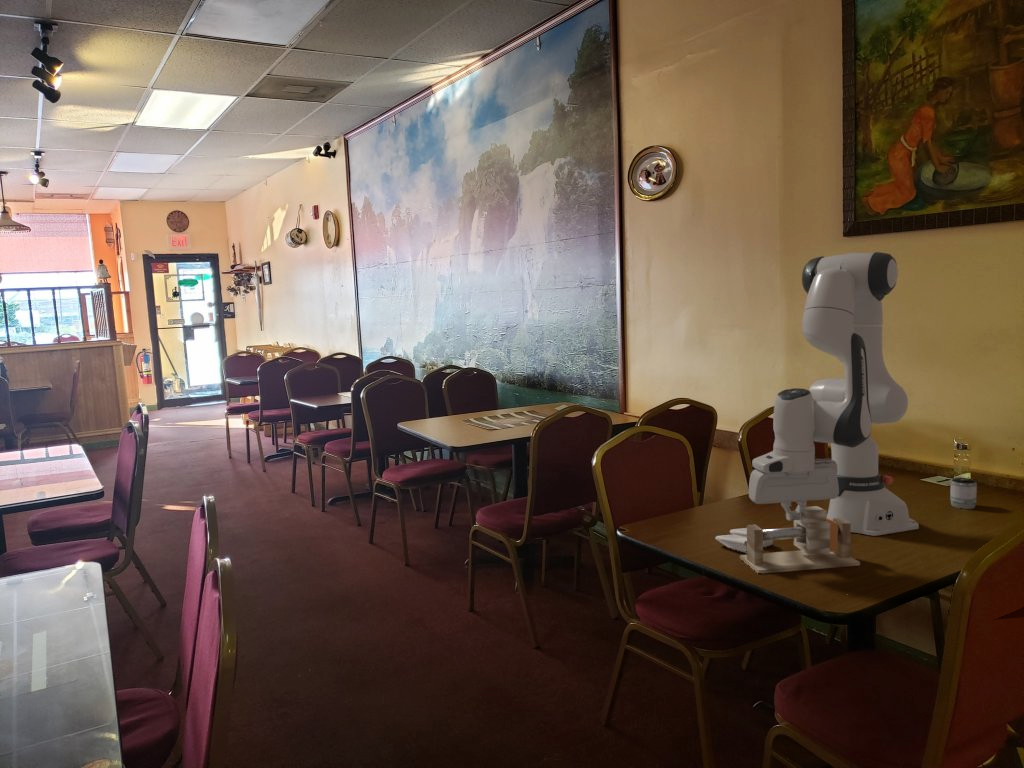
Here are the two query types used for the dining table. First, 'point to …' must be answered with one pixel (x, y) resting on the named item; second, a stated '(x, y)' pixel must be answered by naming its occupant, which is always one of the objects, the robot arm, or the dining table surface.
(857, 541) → the dining table surface
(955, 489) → the grey cylinder
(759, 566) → the stand
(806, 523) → the sleeve
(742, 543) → the pair of white wedges
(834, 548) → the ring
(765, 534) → the pipe
